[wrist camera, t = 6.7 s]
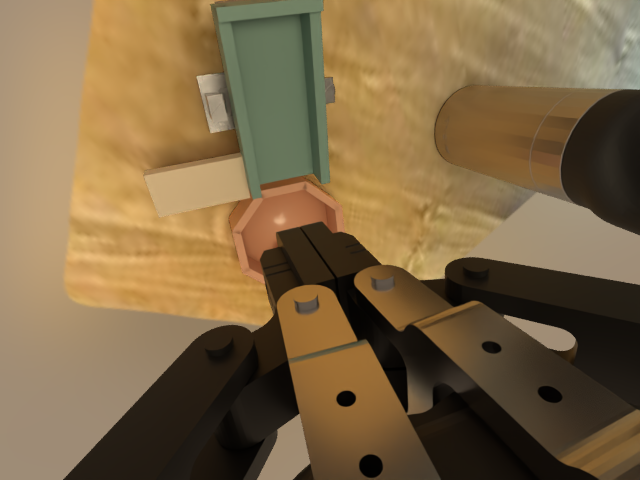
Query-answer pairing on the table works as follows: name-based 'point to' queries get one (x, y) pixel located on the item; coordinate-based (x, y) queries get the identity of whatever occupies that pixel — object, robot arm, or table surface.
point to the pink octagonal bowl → (279, 218)
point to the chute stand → (219, 102)
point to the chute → (259, 107)
